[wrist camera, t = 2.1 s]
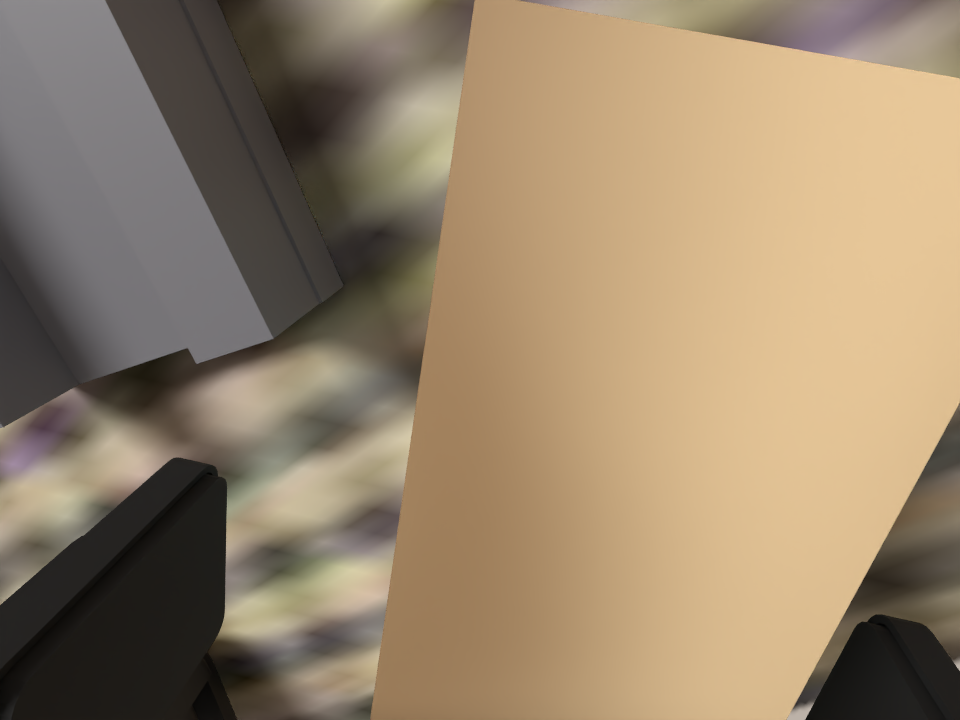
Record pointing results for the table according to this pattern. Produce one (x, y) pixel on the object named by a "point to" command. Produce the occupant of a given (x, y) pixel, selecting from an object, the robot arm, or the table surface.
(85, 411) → the table surface
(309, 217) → the picture stand
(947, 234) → the wooden picture frame
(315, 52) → the table surface
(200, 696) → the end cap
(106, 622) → the robot arm
